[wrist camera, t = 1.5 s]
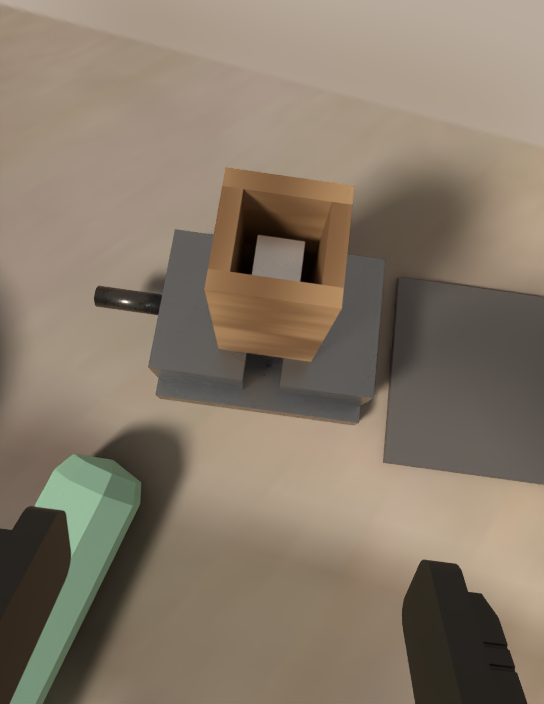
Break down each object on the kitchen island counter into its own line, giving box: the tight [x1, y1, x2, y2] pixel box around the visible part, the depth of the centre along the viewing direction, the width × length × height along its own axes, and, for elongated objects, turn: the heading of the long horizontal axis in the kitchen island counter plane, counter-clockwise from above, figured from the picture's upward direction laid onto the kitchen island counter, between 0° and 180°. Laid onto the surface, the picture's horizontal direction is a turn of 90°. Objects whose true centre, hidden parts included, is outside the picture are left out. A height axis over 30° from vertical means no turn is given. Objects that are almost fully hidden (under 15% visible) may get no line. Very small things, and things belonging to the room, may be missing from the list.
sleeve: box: [204, 168, 354, 362], centre depth 23 cm, size 5×5×9 cm
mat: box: [383, 277, 544, 485], centre depth 32 cm, size 12×12×1 cm
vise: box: [94, 229, 385, 425], centre depth 26 cm, size 16×10×12 cm, turn 82°
